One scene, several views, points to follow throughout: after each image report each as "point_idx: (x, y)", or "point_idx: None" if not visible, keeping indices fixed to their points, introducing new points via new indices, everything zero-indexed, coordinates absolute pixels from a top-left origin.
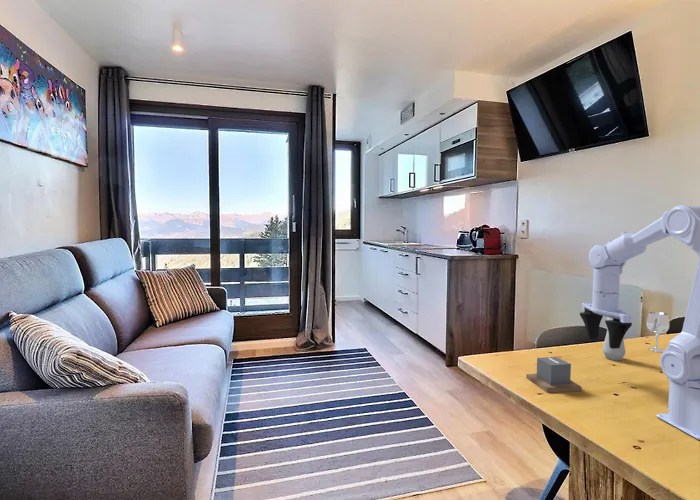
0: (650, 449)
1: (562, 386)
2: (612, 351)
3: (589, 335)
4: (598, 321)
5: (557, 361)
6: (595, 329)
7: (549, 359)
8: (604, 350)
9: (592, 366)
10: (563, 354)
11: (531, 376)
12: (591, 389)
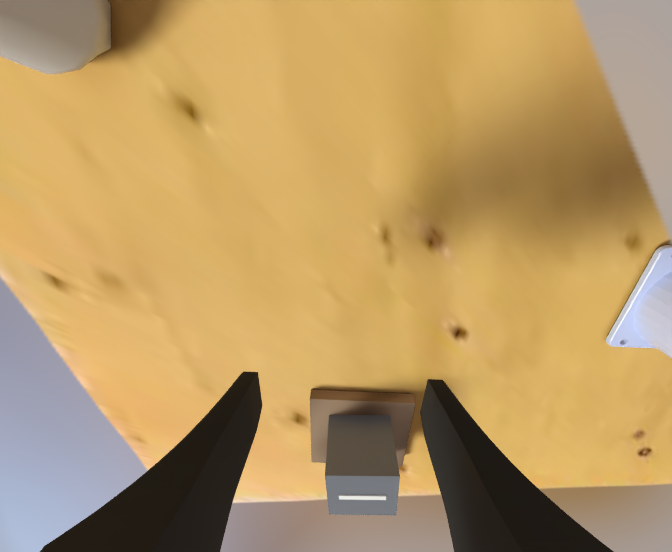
0: (665, 440)
1: (401, 437)
2: (77, 49)
3: (255, 433)
4: (196, 504)
5: (369, 491)
6: (233, 442)
7: (347, 498)
8: (47, 73)
9: (217, 229)
10: (72, 246)
11: None
12: (411, 367)
